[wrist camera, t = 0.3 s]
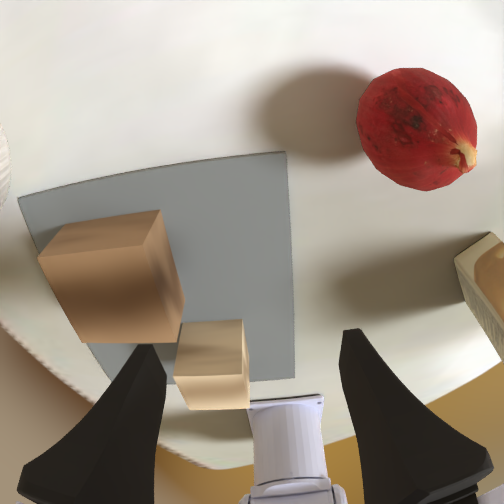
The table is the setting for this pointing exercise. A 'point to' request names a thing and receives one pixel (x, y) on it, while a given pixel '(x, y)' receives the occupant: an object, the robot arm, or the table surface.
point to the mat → (201, 247)
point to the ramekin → (4, 167)
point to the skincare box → (485, 286)
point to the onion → (417, 128)
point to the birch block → (213, 365)
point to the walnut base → (116, 279)
